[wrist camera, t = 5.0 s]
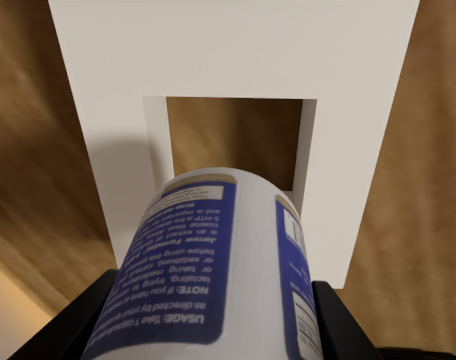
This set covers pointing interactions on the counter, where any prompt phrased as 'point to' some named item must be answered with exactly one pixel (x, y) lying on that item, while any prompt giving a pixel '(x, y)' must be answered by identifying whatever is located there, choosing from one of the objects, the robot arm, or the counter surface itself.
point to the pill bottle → (212, 277)
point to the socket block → (237, 96)
